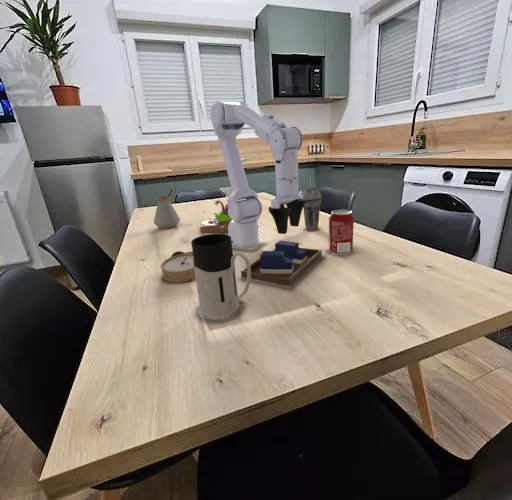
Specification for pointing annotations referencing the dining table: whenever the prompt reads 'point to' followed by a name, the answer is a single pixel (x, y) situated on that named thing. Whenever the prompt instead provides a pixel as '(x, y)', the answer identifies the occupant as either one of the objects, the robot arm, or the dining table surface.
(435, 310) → the dining table surface
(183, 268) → the alarm clock
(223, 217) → the plant
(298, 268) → the shoe tray
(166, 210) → the coffee pot
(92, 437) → the dining table surface
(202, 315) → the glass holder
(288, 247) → the trainer
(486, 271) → the dining table surface
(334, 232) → the soda can
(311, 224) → the beverage cup
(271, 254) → the trainer
